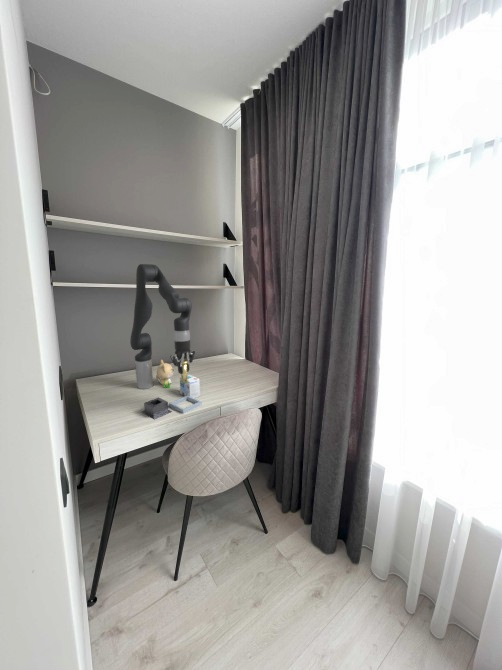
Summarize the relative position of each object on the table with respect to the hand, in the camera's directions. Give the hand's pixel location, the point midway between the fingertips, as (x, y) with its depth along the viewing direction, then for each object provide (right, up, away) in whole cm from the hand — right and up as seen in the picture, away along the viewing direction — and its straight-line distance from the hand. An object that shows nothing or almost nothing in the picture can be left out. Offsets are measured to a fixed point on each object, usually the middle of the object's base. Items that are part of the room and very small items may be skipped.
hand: (183, 372), depth 136 cm
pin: (0, -5, +1) cm, 5 cm away
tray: (0, -19, +4) cm, 19 cm away
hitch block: (-13, -20, -2) cm, 24 cm away
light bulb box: (-1, -16, +19) cm, 25 cm away
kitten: (-20, -13, +35) cm, 42 cm away
